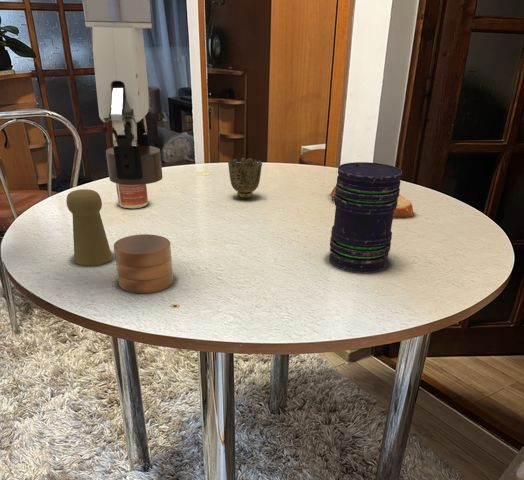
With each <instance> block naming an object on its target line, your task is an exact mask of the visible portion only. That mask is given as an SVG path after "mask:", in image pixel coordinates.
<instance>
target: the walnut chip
mask: <svg viewBox="0 0 524 480" xmlns="http://www.w3.org/2000/svg"><path fill="white" fill-rule="evenodd" d="M137 146H140V150H141V160H142V169H143V178H142V179H140V180H130V179H118V177H117V172H116V164H115V156H114V149H113V147H110V148H107V149H106V150H105V157H106V163H107V171H108V178H109V181H110V182H112V183H114V184H116V183H117V184H124V185H143V184H146V185H150V184H155V183H158V182H160V181H161V180H162V179H163V167H162V155H161V149H160V148H158V147H157V146H152V145H149V146H145V145H137Z"/></svg>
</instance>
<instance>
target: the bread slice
mask: <svg viewBox="0 0 524 480" xmlns="http://www.w3.org/2000/svg"><path fill="white" fill-rule="evenodd" d="M335 188H336V185H335V186H334V187H333V189H332V191H331V198H332V199H333V200H334V198H335V194H336V193H335ZM397 203H398V204H397V207H396V209H395V210H394V215H393V218H395V219H396V218H399V219H400V218H401V219H402V218H411V217H413V216H414V215H415V212H414V207H413V203H412V200H409V199H408V198H406V197H405V196H403V195H402V194H400V193H399V197H398V201H397Z"/></svg>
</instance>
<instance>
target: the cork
mask: <svg viewBox="0 0 524 480" xmlns="http://www.w3.org/2000/svg"><path fill="white" fill-rule="evenodd" d="M65 202H66V206H67V209H68V211H69V212H70V213H71V214H72V237H73V238H72V239H73V260H74V261H73V262H74V263H75V264H76V265H80V266H85V267H94V266H95V267H96V266H101V265H104V264H107V263H109V262H110V261H112V259H113V254H112V251H111V247H110V244H109V241H108V236H107V234H106V229H105V226H104V223H103V219H102V215H101V212H100V211H101V210H102V209H103V208H102V207H103V201H102V197H101V194H100V193H98V192H97V191H96V190H93V189H86V188H85V189H83V188H82V189H76V190H72V191H70V192H69V193H68V194H67V195H66V201H65Z"/></svg>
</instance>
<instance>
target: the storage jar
mask: <svg viewBox="0 0 524 480" xmlns="http://www.w3.org/2000/svg"><path fill="white" fill-rule="evenodd" d="M337 174H338V175H337V176H336V183H335V186H336V188H335V193H336V194H335V198H334V199H333V201H334V205H335V209H334V220H333V225H332V227H331V231H330V232H331V233H330V239H329V252H330V254H329V255H328V262H329V263H330V264H331V265H332V266H333V267H335V268H337V269H339V270H342V271H345V272H350V273H357V274H371V273H377V272H380V271H382V270H384V269H385V268H387V265H388V257H389V254H390V251H391V246H392V239H393V232H392V227H393V220H394V217H393V215H394V210H395V209H396V207H397V204H398V203H397V201H398V197H399V194H400V191H401V179H402V175H403V170H402V169H401V168H398V167H397V166H394V165H390V164H386V163H378V162H370V161H369V162H368V161H357V162H355V161H354V162H346V163H342V164H339V166H337Z"/></svg>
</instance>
